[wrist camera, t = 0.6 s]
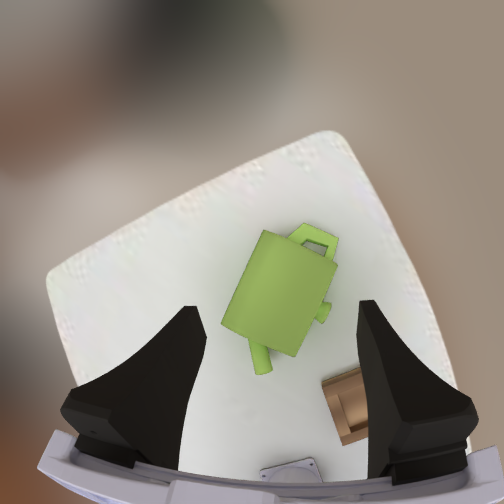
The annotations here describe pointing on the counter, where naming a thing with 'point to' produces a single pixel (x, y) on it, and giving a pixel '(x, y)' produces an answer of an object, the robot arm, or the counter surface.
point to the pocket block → (348, 405)
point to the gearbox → (282, 293)
